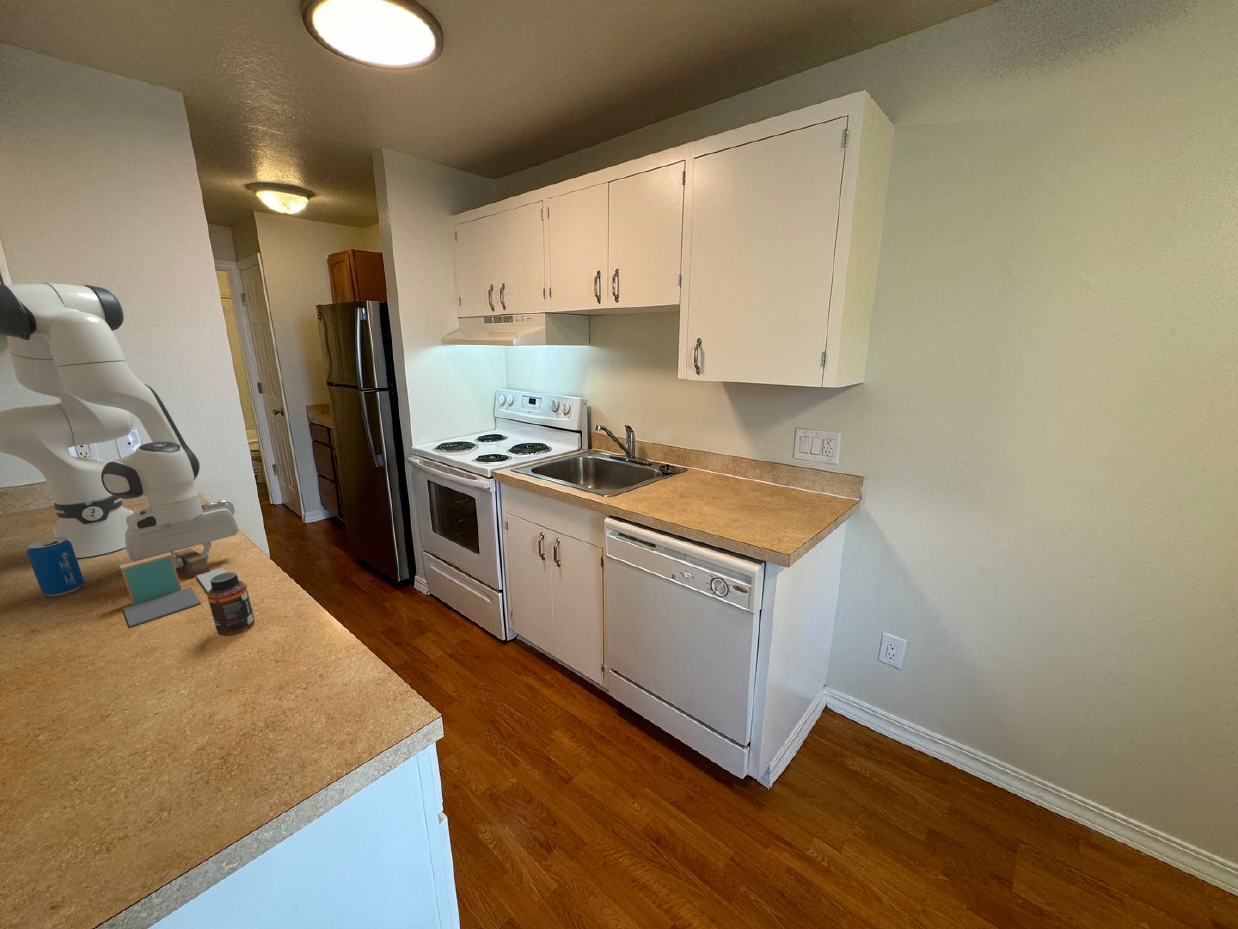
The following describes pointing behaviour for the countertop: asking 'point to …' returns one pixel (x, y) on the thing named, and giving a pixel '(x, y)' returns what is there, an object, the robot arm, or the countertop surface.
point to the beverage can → (55, 566)
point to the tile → (150, 578)
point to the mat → (160, 606)
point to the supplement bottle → (230, 604)
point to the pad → (209, 578)
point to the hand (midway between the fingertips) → (192, 563)
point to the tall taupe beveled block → (193, 562)
